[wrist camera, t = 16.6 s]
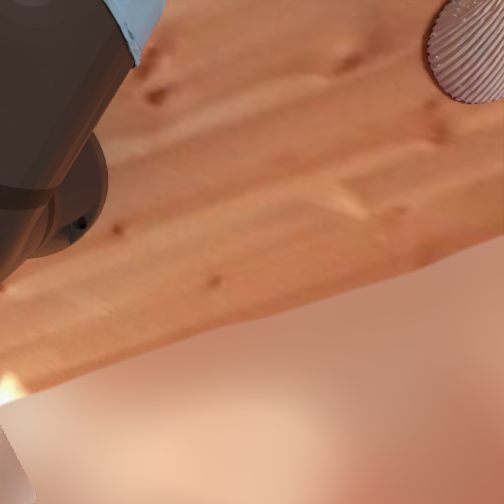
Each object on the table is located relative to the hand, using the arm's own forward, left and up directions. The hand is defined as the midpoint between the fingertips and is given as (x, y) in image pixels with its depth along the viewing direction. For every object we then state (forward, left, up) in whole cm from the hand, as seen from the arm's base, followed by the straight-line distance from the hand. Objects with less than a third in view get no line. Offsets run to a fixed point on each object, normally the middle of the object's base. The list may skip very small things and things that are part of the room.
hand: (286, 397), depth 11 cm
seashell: (+22, +6, -34) cm, 41 cm away
